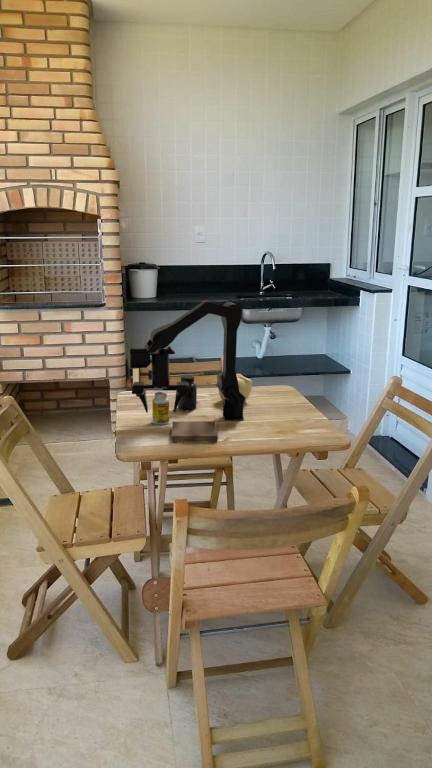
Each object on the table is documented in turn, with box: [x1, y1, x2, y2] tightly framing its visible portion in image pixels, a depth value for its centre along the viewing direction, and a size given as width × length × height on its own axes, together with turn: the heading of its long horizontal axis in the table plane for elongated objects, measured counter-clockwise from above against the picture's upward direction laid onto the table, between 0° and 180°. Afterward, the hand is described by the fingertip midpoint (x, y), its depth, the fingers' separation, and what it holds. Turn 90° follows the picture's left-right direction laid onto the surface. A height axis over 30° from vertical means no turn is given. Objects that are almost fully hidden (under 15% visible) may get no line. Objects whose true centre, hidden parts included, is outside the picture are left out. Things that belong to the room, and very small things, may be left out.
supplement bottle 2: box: [177, 374, 198, 412], centre depth 213 cm, size 7×7×12 cm
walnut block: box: [171, 420, 218, 443], centre depth 187 cm, size 14×14×2 cm
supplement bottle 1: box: [151, 391, 170, 425], centre depth 197 cm, size 6×6×10 cm
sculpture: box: [218, 373, 253, 403], centre depth 222 cm, size 12×12×11 cm
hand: (160, 412), depth 198 cm, fingers open, 9 cm apart
